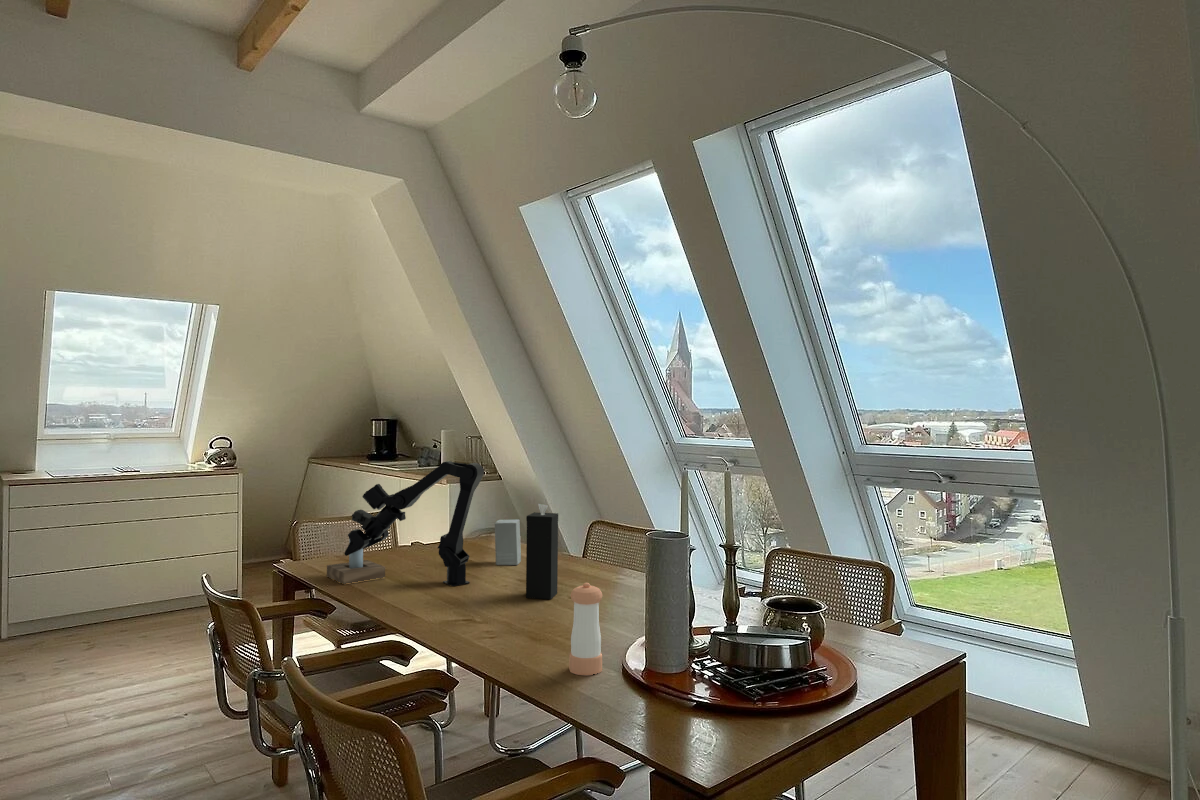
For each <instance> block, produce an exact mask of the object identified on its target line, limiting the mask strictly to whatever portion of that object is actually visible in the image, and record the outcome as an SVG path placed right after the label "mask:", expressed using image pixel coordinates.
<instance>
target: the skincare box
mask: <svg viewBox="0 0 1200 800" xmlns="http://www.w3.org/2000/svg"><path fill="white" fill-rule="evenodd" d="M520 522H521V521H520V519H498V520H496V522H494V544H495V545H494V546H495V547H494V548H495V549H494V550H495V565H496V566H518V565H519V564H520V563H521V561H522V555H521V554H522V553H521V526H520V525H521V524H520Z"/></svg>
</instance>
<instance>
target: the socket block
mask: <svg viewBox="0 0 1200 800" xmlns="http://www.w3.org/2000/svg"><path fill="white" fill-rule="evenodd" d="M327 577H329V578H331V579H334V580H336V581H338V582H340V583H343V584H346V583H352V582H358V581H364V580H370V579H376V578H383V577H385V578H386V566H384V565H382V564H378V563H376V562H373V561H371V560H368V559H363V567H361V568H354V569H350V568H349V561H348V562H342V563H336V564H335V563H334V564H327V565H326V578H327ZM329 578H328V579H329ZM331 579H330V580H331ZM334 580H333V581H334ZM336 581H335V582H336ZM338 582H337V583H338ZM340 583H339V584H340Z"/></svg>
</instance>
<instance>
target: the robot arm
mask: <svg viewBox="0 0 1200 800" xmlns="http://www.w3.org/2000/svg"><path fill="white" fill-rule="evenodd" d="M484 474H485V470H484V468H483V466H482V465H481V464H480V463H478V462H473V463H463V462H454V461H452V460H448V461H443V462H441V464H439V466H437V467H436V468H434V469H433V470H432V471H430V472H429V473H428V474H426V475H425V476H423V477H422V478H421V479H419V480H418V481H417V482H415V483H414V484H413V485H411V486H408V487H405V488H404V489H401V490H399V491H397V492H395V493H394V494H388V492H387V491H386V490H385V489H384V488H383V486H382V485H381V484H380V483H376V484H375V485H374V486H372V487H371V488H369V489H368V490H366V491H365V492H364V493H363V494H362V498H363V500H364V501H365V502H366V503H367V504H368V506H370V507H371V509H373V511H374V510H376V509H377V510H378V511H379V512H378V513H377V514H376V515H373V514H371V513H369V512H367V511H365V510H363V509H357V510H355V511H354V512H353V513H352V514H351V520H352V522H355V523H358V524H359V525H361V526H360V528H361V529H359V528H356V529H353V530H351V531H349V533H348V534H347V537H348V540H349V539H350V543H349V542H348V545H347V547H346V549H345V551H344V553H343V554H344V555H345V557H347V556H349V555H350V554H352V553H354V552H356V551H358V550H361V549H363V550H364V549H367V548H369V547H372V546H374V545H377V544H378V543H381V542H382V541H384V540H386V539H387V538H388V537H389V533H390V531H388V530H389V529H391V526H392V524H394V522H395V521H396V520H397V519H398V520H399V522H402V521H405V520H406V511H402V510H405V509H408V508H411V507H412V506H414V505H415V503H417V501H419V500H420V497H421V496H422V495H423V494H424V493H426V491H428V490H429V489H431V488H432V487H433V486H434V485H436V484H437V483H439V482H441V481H442V480H443V479H444V478H446V477H447V476H448V475H449V476H453V477H456V478H459V494H458V497H457V500H456V504H455V507H454V512H453V516H452V519H451V521H450V526H449V529H448V532H447V533H444V534H442V535H441V536H440V539H439V544H438V546H437V549H438V555H439V557H440V558H441V560H442V561H443V565H444V567H446V580H443V581H442V583H443V584H445V583H446V585H448V586H450V585H451V587H457V586H463V585H469V584H470V583H471V582H470V581H468V580H467V579H466V578H467V577H466V576H467V573H466V572H467V571H466V569H467V566H466V564H467V563H468V562H469V559H470V555H469V554H468V552H466V551H465V549H464V528H465V526H466V522H467V518H468V515H469V511H470V507H471V503H472V500H473V497H474V492H476V490H477V488H478V486H479V485H480V483H481V481H482V478H483V476H484ZM363 530H364V532H363Z"/></svg>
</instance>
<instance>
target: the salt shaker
mask: <svg viewBox="0 0 1200 800" xmlns="http://www.w3.org/2000/svg"><path fill="white" fill-rule="evenodd" d="M602 598H603V592H602V591H601V589H600V588H599V587H597V586H595V585H591V584H590V583H589V582H584V583H583V584H582V585H578V586H576V587H574V588H573V589H572V591H571V592H570V599H571V601H572V602H573V623H572V624H573V625H572V630H571V635H570V650H571V651H570V652H569V655H568V658H569V659H568V660H569V663H568V664H569V665H568V666H569V672H570V673H571V674H575V675H577V676H578V675H579V676H594V675H593V674H595V675H598V674H601V672H602V671H603V654H602V651H601V649H602V648H601V647H602V636H601V635H602V634H601V628H600V621H599V619H600V618H599V617H600V615H599V612H600V611H599V610H600V609H599V607H600V602H601V601H602ZM597 673H598V674H597Z"/></svg>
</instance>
